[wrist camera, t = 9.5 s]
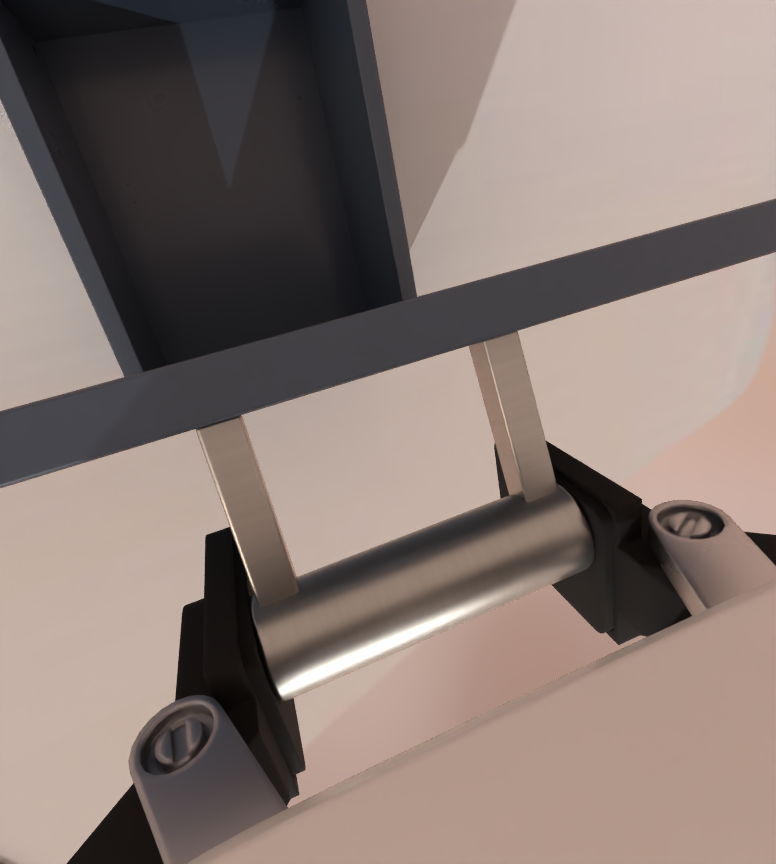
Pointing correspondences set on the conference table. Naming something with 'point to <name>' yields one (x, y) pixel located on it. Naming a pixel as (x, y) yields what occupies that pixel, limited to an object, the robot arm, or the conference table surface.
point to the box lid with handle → (354, 359)
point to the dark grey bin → (209, 164)
